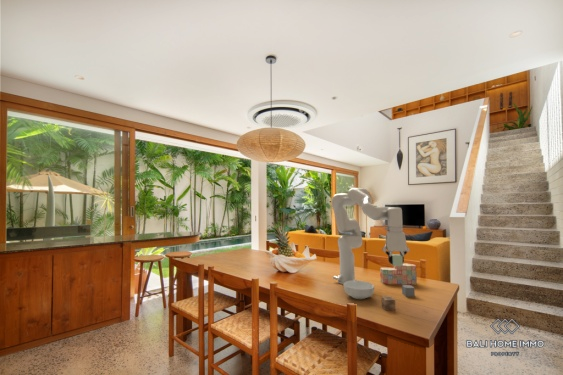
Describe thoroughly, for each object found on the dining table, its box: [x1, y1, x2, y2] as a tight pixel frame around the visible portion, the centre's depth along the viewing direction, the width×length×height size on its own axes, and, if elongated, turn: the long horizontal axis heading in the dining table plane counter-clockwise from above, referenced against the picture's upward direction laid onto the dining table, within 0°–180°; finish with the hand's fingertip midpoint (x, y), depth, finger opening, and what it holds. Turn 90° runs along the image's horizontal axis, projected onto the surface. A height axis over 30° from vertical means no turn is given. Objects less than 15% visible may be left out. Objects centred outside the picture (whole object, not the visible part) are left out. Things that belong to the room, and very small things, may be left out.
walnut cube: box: [381, 296, 396, 311], centre depth 136 cm, size 5×5×5 cm
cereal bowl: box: [343, 279, 375, 300], centre depth 152 cm, size 17×17×7 cm
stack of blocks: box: [379, 262, 418, 286], centre depth 177 cm, size 21×6×12 cm, turn 84°
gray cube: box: [401, 284, 416, 298], centre depth 154 cm, size 5×5×5 cm
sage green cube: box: [389, 253, 404, 267], centre depth 145 cm, size 5×5×5 cm
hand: (396, 263), depth 145 cm, fingers closed on sage green cube, 4 cm apart
